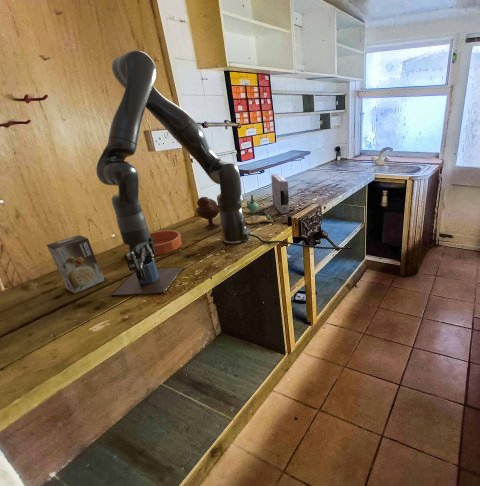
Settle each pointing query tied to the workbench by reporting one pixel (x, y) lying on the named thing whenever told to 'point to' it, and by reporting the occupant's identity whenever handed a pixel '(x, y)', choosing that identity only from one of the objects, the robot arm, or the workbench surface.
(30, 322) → the workbench surface
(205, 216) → the ice cream bowl
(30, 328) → the workbench surface
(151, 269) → the blue cup
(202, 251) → the workbench surface
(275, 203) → the cake pan box
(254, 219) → the frog figurine
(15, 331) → the workbench surface
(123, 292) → the walnut mat
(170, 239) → the terracotta bowl
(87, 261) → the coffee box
